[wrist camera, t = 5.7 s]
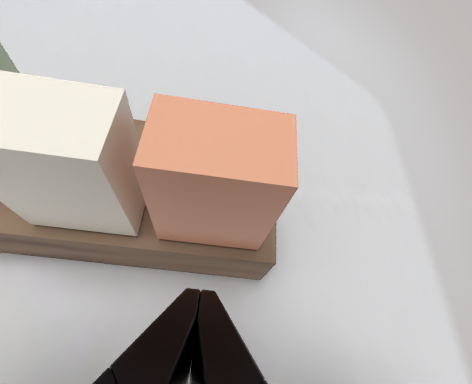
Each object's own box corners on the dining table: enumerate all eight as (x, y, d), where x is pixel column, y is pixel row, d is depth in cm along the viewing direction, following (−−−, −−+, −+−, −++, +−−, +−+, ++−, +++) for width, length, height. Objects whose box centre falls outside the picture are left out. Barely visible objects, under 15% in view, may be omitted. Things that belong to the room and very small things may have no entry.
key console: (260, 279, 18) (275, 263, 15) (-61, 245, 17) (-129, 218, 13) (264, 173, 22) (277, 139, 18) (3, 138, 21) (-36, 95, 17)
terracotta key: (257, 250, 14) (298, 187, 9) (157, 238, 14) (132, 165, 8) (260, 197, 16) (296, 114, 10) (169, 186, 16) (154, 93, 10)
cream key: (137, 236, 14) (97, 161, 8) (30, 224, 14) (-87, 136, 8) (150, 183, 15) (124, 88, 10) (55, 171, 15) (-30, 65, 9)
